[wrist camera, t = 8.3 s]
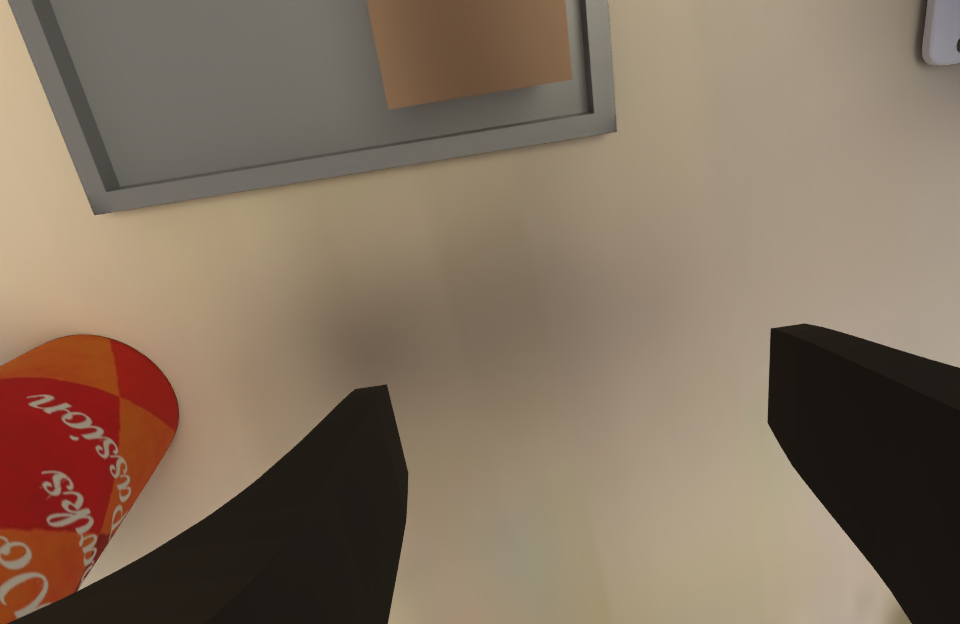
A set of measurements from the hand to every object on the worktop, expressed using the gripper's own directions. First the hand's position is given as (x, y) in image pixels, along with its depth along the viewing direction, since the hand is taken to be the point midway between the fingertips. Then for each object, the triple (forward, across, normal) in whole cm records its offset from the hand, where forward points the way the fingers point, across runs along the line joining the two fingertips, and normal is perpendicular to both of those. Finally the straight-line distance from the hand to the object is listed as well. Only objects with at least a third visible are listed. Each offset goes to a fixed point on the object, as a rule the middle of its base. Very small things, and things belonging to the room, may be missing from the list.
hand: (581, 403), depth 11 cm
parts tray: (+9, +5, -8) cm, 13 cm away
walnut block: (+9, +1, -8) cm, 12 cm away
